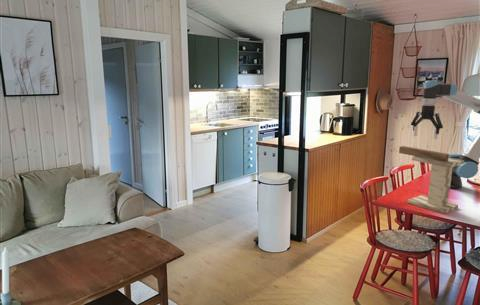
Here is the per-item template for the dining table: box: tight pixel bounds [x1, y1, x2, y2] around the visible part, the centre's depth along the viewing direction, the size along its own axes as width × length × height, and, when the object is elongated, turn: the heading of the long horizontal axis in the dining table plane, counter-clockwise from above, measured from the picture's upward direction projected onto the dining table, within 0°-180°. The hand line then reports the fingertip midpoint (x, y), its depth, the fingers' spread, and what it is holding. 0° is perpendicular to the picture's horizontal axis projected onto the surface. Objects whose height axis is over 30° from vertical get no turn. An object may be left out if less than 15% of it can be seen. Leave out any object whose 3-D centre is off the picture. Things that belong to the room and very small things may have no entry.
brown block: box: [398, 145, 450, 162], centre depth 215 cm, size 4×28×4 cm, turn 34°
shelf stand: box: [407, 156, 464, 215], centre depth 215 cm, size 16×22×29 cm
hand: (425, 137), depth 238 cm, fingers open, 13 cm apart
